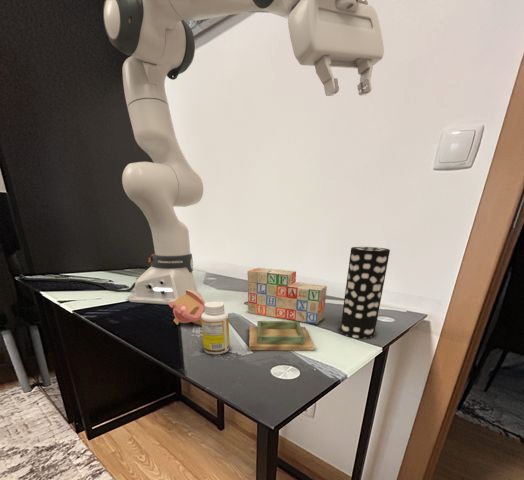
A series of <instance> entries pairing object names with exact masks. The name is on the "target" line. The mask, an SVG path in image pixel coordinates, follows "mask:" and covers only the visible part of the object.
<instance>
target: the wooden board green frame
mask: <svg viewBox="0 0 524 480" xmlns="http://www.w3.org/2000/svg"><path fill="white" fill-rule="evenodd" d="M314 350H315V345H314V343H313V340H312V339H311V336H310V334H309V332H308V330H307V328H306V326H301V324H300V321H296V320H257V325H256V326H249V339H248V351H314Z"/></svg>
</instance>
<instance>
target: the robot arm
mask: <svg viewBox="0 0 524 480" xmlns="http://www.w3.org/2000/svg"><path fill="white" fill-rule="evenodd" d="M243 13H269V14H273V15H276V16H279V17H280V18H284V19H287V26H288V31H289V37H290V42H291V47H292V50H293V55H294V57H295V59H296V60H297V62H298V63H299V64H300V66H308V67H309V66H310V67H314V69H315V73H316V75H317V77H318V79H319V80H320V82H321V83H322V85H323V90H324V94H325V95H324V96H326V97H334V96H335V95H336V94H338V93H339V90H340V86H339V80H338V77H337V78H336V77H335V76H334V74H333V70H332V69H331V68H343V69H344V68H345V69H357V74H358V75H359V83H358V84H357V85H356V87H357V94H358V96H367V95H368V94H369V93H371V91H372V83H371V82H372V81H371V79H372V73H373V68H374V66H375V65H376V64H378V63H379V62H380V61H382V60H383V57H384V53H385V47H384V46H385V45H384V40H383V36H382V30H381V24H380V20H379V15H378V14H377V10H376V9H375V8H374V6H372V5H370V4H369V2H368V0H104V2H103V11H102V15H103V16H102V17H103V24H104V29H105V32H106V35H107V37H108V40H109V42H110V43H111V45H112V46H113V47H114V48H115V49H117V50H118V51H120V52H121V53H122V54H124V55H126V56H129V57H127V58H126V59H125V60H124V62H123V64H122V68H121V69H122V70H121V71H122V83H123V85H122V86H123V91H124V99H125V103H126V108H127V112H128V116H129V120H130V124H131V127H132V132H133V133H132V134H133V136H134V137H133V138H134V140H135V142H136V144H137V145H138V147H139V148H140V149H141V150H142V151H143V152H145V153H146V154H147V156H149V157H150V159H151V160H152V161H151V162H150V161H137V162H131V163H128V164H127V165H126V166H125V168H124V169H123V172H122V176H121V182H122V187H123V188H122V189H123V190H124V192H125V195H126V196H127V197H128V199H129V200H130V201H132V202H133V203H134V204H135V205H136V206H137V207H138V208H139V209H140V211H141V212H142V213H143V215H144V216H145V218H146V220H147V222H148V226H149V228H150V231H151V232H150V233H151V237H152V243H153V250H154V253H152V254H151V256H149V257H148V258H147V260H148V263H149V265H150V266H149V267H148V268H147V269H146V270H145V271H144V272H143V273H142V274H140V275H139V276H138V277H136V278H135V279H136V280H135V282H134V283H132V285H131V286H130V288H126V289H119V288H115V287H110V286H107V285H105V284H103V283H101V282H97V281H94V280H93V281H92V280H86V279H78V278H59V277H58V278H56V277H55V278H54V277H52V278H49V277H48V278H47V277H46V278H45V277H42V278H41V277H40V278H39V277H38V278H34V277H32V278H31V277H26V276H25V275H24V274H23V273H21V274H19V276H18V279H23V280H24V281H25V280H26V281H32V282H35V281H36V282H37V281H39V282H41V281H51V282H52V281H53V282H79V283H87V284H92V285H95V286H98V287H102V288H104V289H106V290H108V291H114V292H117V293H129V292H131V291H133V290H134V292H132V293H130V295H129V296H128V301H129V302H130V303H140V304H155V305H169V303H170V302H174V301H176V300H177V299H178V298H179V297H181V296H183V295H185V294H186V291H185V290H192V291H194V292H196V293H198V294H199V292H198V290H197V287H196V282H195V278H194V260H193V259H194V258H193V254H192V252H191V243H190V230H189V228H188V225H186V224H185V223H184V222H182V221H181V220H180V219H179V218H178V216H177V214H176V211H175V209H174V207H176V208H179V207H181V208H187V207H191V206H194V205H197V204H198V203H199V202H200V201H202V198H203V195H204V183H203V180H202V177H201V176H200V174H198V173H197V172H196V171H195V170H194V168H192V166H191V165H190V163H189V162H188V160H187V159H186V157H185V155H184V153H183V151H182V149H181V147H180V145H179V142H178V139H177V136H176V133H175V127H174V124H173V119H172V114H171V110H170V106H169V101H168V96H167V93H166V87H165V84H166V78H167V79H170V80H173V81H174V80H176V79H178V76H179V75H181V74H184V73H185V72H186V71H187V70H188V69H189V67H190V66H191V65H192V63H193V61H194V58H195V54H196V53H195V51H196V43H195V36H194V32H193V29H192V28H191V27H190V25H189V24H188V23H187V22H191V21H194V22H195V21H202V20H208V19H209V20H210V19H214V18H219V17H224V16H230V15H237V14H243ZM186 21H187V22H186Z"/></svg>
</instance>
